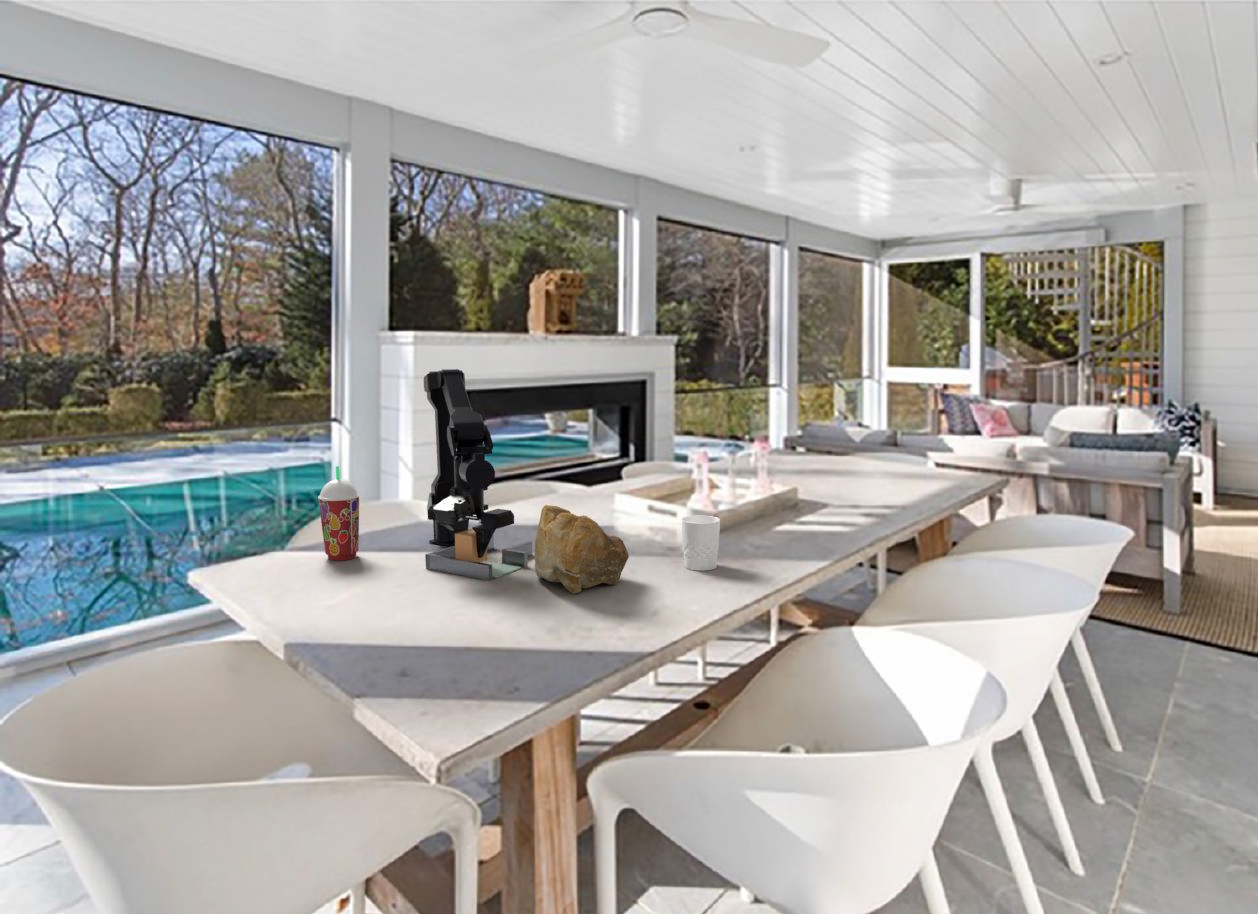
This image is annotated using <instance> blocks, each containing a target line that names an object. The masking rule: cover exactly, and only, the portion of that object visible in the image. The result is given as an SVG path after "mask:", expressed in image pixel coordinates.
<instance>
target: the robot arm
mask: <svg viewBox="0 0 1258 914" xmlns="http://www.w3.org/2000/svg"><path fill="white" fill-rule="evenodd" d="M423 390H424V391H423V392H425V393H426V399H427V400H428V402H429V404H430V406H431V407H432V408H433V410H434V421H435V425H434V426H435V441H436V444H435V445H436V466H437V474H436V476H435V478H434V479H433V481H432V482H431V485H430V487H431V488H430V490H431V491H430V492H429V494H428V499H427V505H426V510H427V511H426V512H427V520H430V521H433V524H432V526H433V539H429V540H428V543H429V544H436V545H442V546H447V547H448V546H449V547H451V546H455V533H458V532H462V531H465V530H469V525H470V520H471V521H478V525H476V526H472V528H471V529H472V530H474V532H475V533H476V538H477V553H478V558H482V557H483V556H484V553H485V551H486V549H487V546H488V544H489V542H490V540H491V537H492V536H493V535H494V533H495V532H496V530H497V529H501V528H504V527H508V526H511V525H514V524H515V514H514V512H513V511H512V510H511V509H503V508H495V509H492V510H489V504H485V494H484V492H485V491H488V489H489V487H490V485H491V484H492V483H493V482H494V480H495V477H496V471H495V469H494V466H493V465H492V463H491V462H489V461H488V460H486V458H485V457H486V456H485V455H492V454H493V449H494V442H493V439H492V436H491V432H490V429H488V426H487V425H488V424H485V422H484V420H483V418H482V415H481V414H480V413H478V412H477V411H475V410H473V407H472V406H471V401H470V399H469V396H468V393H467V390H466V377H465V372H463V370H460V369H459V368H456V369H454V368H453V369H449V368H448V369H447V368H446V369H444V368H443V369H441V370H435V371H433V370H432V371H429V372H428V373H426V375H424V377H423Z"/></svg>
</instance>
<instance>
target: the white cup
mask: <svg viewBox="0 0 1258 914" xmlns="http://www.w3.org/2000/svg"><path fill="white" fill-rule="evenodd" d="M720 528H721V519H720V517H716V516H711V515H702V514H701V515H687V516H684V517H682V518H681V535H682V536H681V539H682V553H683V563H684V564H683V565H684V567H685V569H687V570H692V571H698V572H699V571H701V572H704V571H705V572H706V571H711V570H715V569H717V568H718V567H717V566H718V555H719V547H720V533H721V532H720V530H721V529H720Z"/></svg>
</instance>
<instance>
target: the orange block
mask: <svg viewBox="0 0 1258 914" xmlns="http://www.w3.org/2000/svg"><path fill="white" fill-rule="evenodd" d="M454 546H455V553H456V558H458V559H463V560H469V561H475V562H480V563H484V562H485V561H488V550H487V549H486V551H485V553H484V556H483V557H482V558H478V553H477V538H476V533H475V532H474V530H473V529H472V528H471V529H470V528H468V530H465V531H462V532H458V533H455V544H454Z"/></svg>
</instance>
